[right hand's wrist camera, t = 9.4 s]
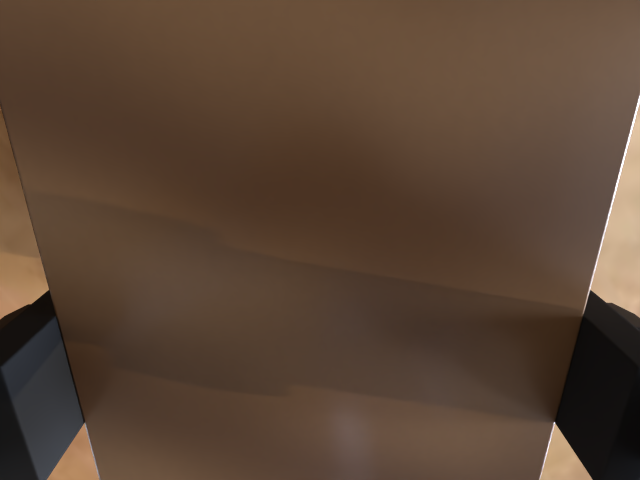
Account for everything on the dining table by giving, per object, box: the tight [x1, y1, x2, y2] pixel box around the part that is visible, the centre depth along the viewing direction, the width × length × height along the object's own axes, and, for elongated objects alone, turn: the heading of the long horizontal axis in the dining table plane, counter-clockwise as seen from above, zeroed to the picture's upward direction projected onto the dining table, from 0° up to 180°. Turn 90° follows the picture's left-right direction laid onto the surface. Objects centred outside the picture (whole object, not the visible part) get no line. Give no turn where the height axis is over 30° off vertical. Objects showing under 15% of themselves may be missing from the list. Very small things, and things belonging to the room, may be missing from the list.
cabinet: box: [0, 0, 640, 480], centre depth 13 cm, size 18×10×12 cm, turn 0°
